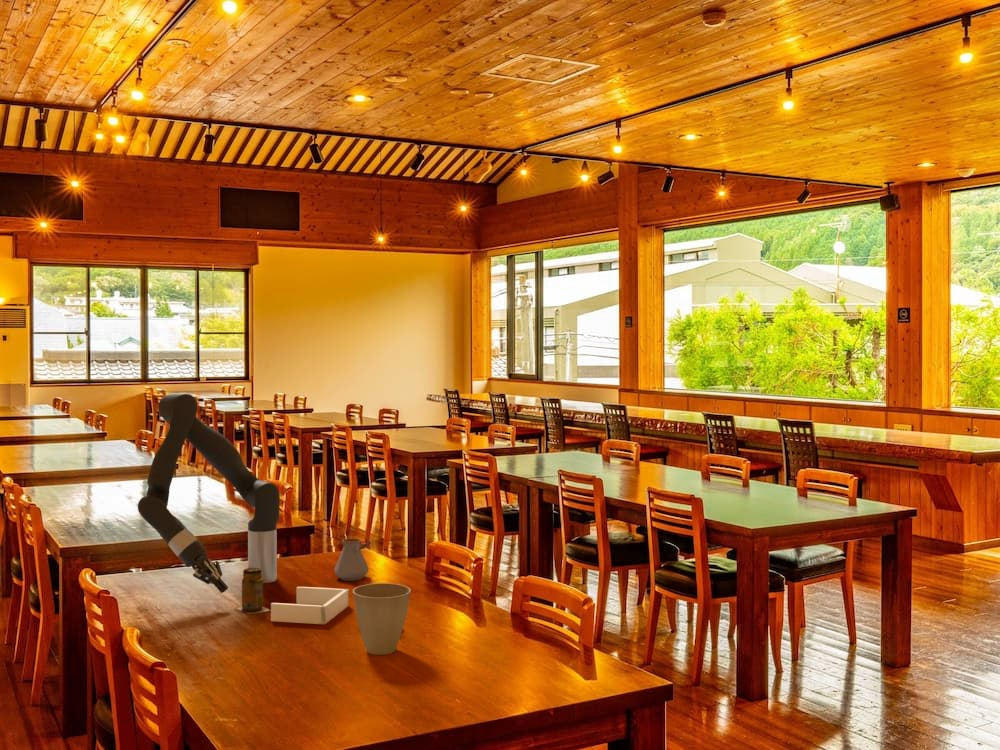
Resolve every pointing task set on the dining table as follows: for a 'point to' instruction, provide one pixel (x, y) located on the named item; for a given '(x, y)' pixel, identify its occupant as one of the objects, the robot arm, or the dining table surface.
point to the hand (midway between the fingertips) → (225, 590)
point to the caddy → (312, 606)
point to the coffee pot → (352, 561)
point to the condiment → (252, 592)
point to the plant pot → (381, 615)
